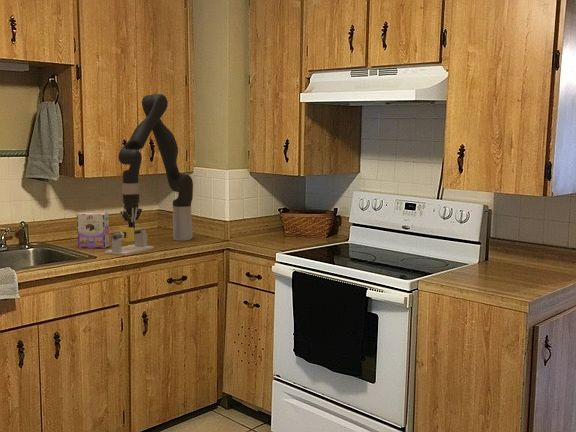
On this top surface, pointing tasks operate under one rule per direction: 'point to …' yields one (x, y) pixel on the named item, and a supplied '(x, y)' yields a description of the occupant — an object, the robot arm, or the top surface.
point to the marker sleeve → (127, 233)
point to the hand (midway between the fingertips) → (131, 230)
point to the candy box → (93, 230)
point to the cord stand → (131, 249)
